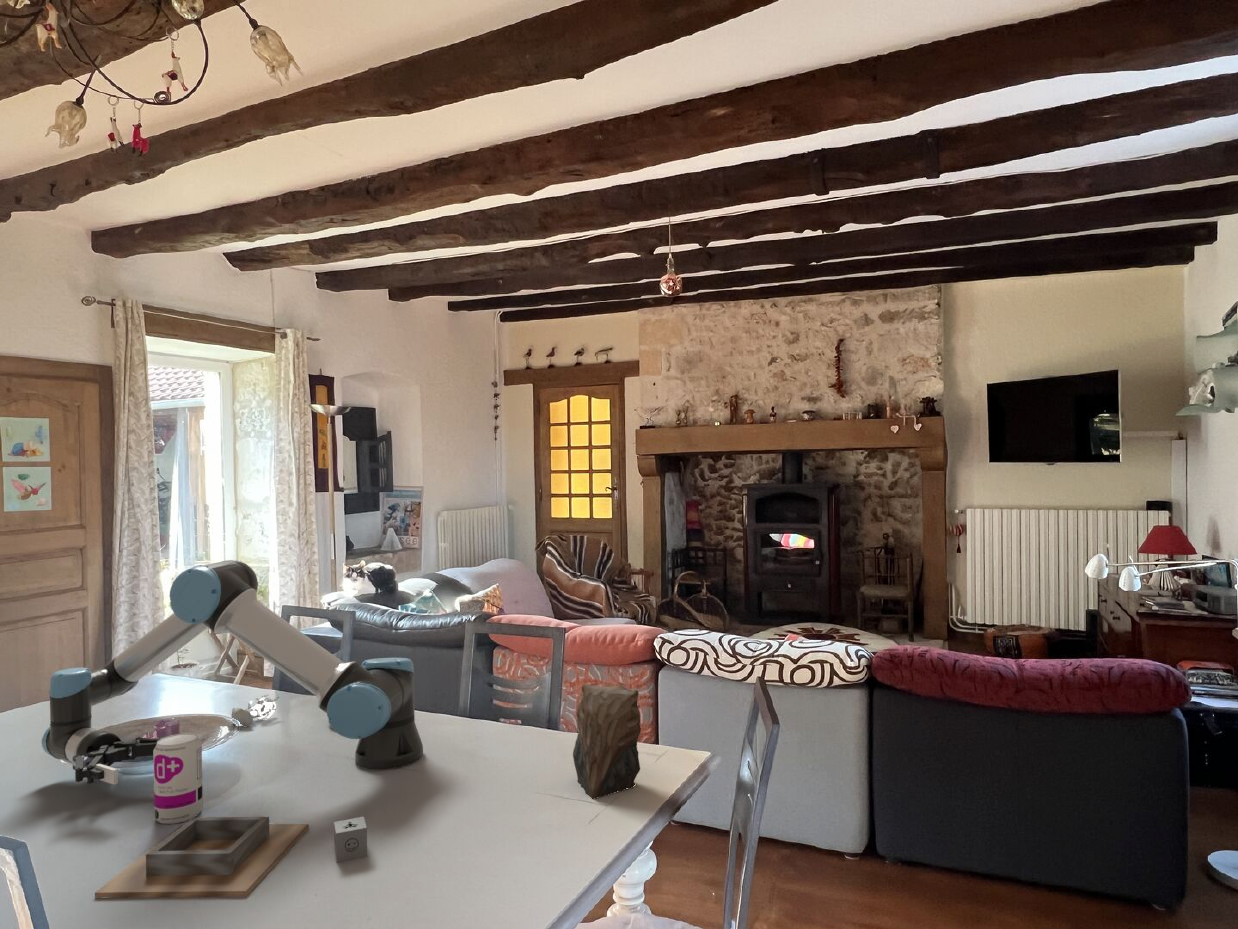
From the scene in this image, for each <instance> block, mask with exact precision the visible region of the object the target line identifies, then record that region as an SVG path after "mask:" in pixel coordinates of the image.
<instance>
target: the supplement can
mask: <svg viewBox="0 0 1238 929" xmlns="http://www.w3.org/2000/svg"><path fill="white" fill-rule="evenodd" d="M202 744H203V743H202V741H201V739H200V738H199V735H198V734H197V733H194V732H187V733H186V732H183V733H177V734H171V735H166V736H165V737H162V739H160V740H158V741H157V745H156V747H155V748H154V750H153V756H152V758H153V761H152V762H153V807H154V808H153V811H154V812H153V815H154V816H153V817H154V820H155V821H158V823H159V824H163V825H164V824H165V825H172V824H179V823H184V822H186V821H187V822H188V821H189V820H191V819H192V818H197V816H198V815H199V814H200V813H201V812H202V810H203V808H204V807H203V806H204V805H203V803H204V802H203V751H202V750H203V745H202Z"/></svg>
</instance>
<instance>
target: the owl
mask: <svg viewBox="0 0 1238 929" xmlns="http://www.w3.org/2000/svg"><path fill="white" fill-rule="evenodd" d="M581 691H582V696H581V698H580V701H579V702H580V703H579V704H578V705H577V710H576V723H577V728H578V733H577V736H576V740H575V743H574V748H573V752H572V757H573V763H574V767H575V772H576V775H577V777H576V778H577V780H576V782H577V783H578V784H579V785H580V787H581V788H582V789H583V790H584V792H585V795H587V796H588V795H589V796H590V797H591V798H592V799H591V798H590V797H589V796H588V797H589V798H590V799H591V800H595V799H594V798H596V799H598V798H597V797H599V798H602V797H606V796H609V795H608V794H610V795H612V794H615V793H614V792H616V793H618V792H617V791H620V792H622V791H625V790H627V789H626V788H631V787H633V786H634V785H635V783H636V782H635V781H636V778H637V776H638V774H639V773H640V771H641V765H640V759H639V751H638V740H639V738H640V735H641V733H642V732H641V729H642V728H641V713H640V710H639V706H638V699H639V698H638V697H639V691H638V690H636V689H635V690H631V689H630V688H627V687H626V686H624V685H613V686H609V685H606V686H601V685H600V686H598V685H595V684H586V683H585V684H582V685H581ZM633 788H634V787H633ZM624 789H625V790H624ZM631 789H632V788H631ZM611 793H612V794H611ZM605 795H606V796H605Z"/></svg>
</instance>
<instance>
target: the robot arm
mask: <svg viewBox="0 0 1238 929" xmlns="http://www.w3.org/2000/svg"><path fill="white" fill-rule="evenodd" d="M258 588H259V581H258V577H257V575H256V573H255V571H254V569H253V568H252V567H250V565H248V564H246V563H245V562H242V561H239V560H234V559H230V560H229V559H228V560H222V561H218V562H213V563H208V564H200V565H198V564H197V565H195V566H193V567H190V568H188V569H186V570H183V571H182V572H181V573H179V574H178V575H177V576H176V578H175V579H174V580H173V582H172V583H171V587H170V589H169V602H170V603H169V604H170V608H171V610H172V612H173V613H172V614H171V615H169V616H168V617H167V618H165V619H164V620H163V621H162V622H160V623H159V624H157V625H156V626H154V628H152V629H151V630H150V631H148V632H147V633H146V634H144V635H143V636H141V638H139V639H137V641H135V642H134V643H133V644H131V645H130V646H129V647H127V648H126V649H124V650H123V651H122V652H120V653H119V654H117V656H116V657H114V658H113V659H112V660H110V661H109V662H108V663H106V664H105V665H104V666H102V667H100V668H97V669H94V670H92V671H91V670H90V668H88V667H72V668H71V667H70V668H67V669H60V670H57V671H55V672H54V673H52V675H51V676H50V681H49V682H50V683H49V691H48V695H49V718H50V723H49V726H48V728H47V729H46V730H45V732H44V733H43V735H42V738H41V747H42V749H43V751H44V752H45V753H46V754H48V755H49V756H51V757H53V758H54V759H57V760H60V761H61V760H62V761H67V762H70V763H72V770H74V771H75V772H74V773H75V774H74V775H75V776H74V779H75V782H76V783H80V782H82V781H83V780H84V779H87V780H86V782H87V783H86V784H93V783H94V782H95V781H96V780H97V781H102V782H105V783H107V784H111V785H116V784H118V782H119V781H118V779H119V778H118V777H119V775H118V774H119V772H118V769H117V768H116V767H112V766H113V764H115V763H120V762H123V761H130V760H131V761H132V760H135V759H137V758H138V757H139V758H140V757H151V756H152V757H153V750H154V748H155V747H156V745H157V741H158V740H160V739H162V738H163V737H162V738H159V737H157V738H156V737H155V738H150V737H149V738H146V737H136V738H135V740H134V741H123V740H121V738H120V737H119V736H118V735H117V734H115V733H112V732H109V731H106V730H101V729H98V728H93V727H92V710H93V708H92V707H94V706H96V705H99V704H101V703H103V702H106V701H108V700H111V699H113V698H116V697H120V696H122V695H124V694H126V693H128V692H129V691H131V690H133V689H134V688H135V687H136V686H137V685H138V683H139V681H140V680H141V679H143V677H145V676H146V675H147V674H149V673H150V672H152V671H153V670H154V669H155V668H156V667H158V666H159V665H160V664H163V662H165V661H166V660H167V659H169V658H170V657H172V656H173V655H174V654H175V653H177V652H178V651H179V650H181V649H182V648H184V646H186V645H187V644H189V643H190V642H191V641H192V640H194V639H195V638H197V637H198V636H199V635H201V634H202V633H204V631H206V630H207V629H209V630H211V631H212V632H214V633H215V634H217V635H221V634H222V635H223V634H230V635H231V636H233V638H236V639H237V640H238V641H240V642H241V643H242V644H243V645H245V646H246V647H248V648H249V649H250V650H252V651H253V652H254V653H256V654H258V655H259V656H260V657H261V658H263V659H264V660H265V661H267V662H269V663H270V664H271V665H272V666H274V667H275V668H276V669H278V670H280V671H281V672H282V673H283V674H285V675H286V676H287V677H289V678H290V679H292V680H293V681H294V682H296V683H298V684H299V685H300V686H301V687H303V688H304V689H306V690H307V691H309V692H310V693H311V694H313V695H314V696H315V697H317V706H318V708H319V709H320V710H321V711H323V712H324V713H325V714H326V716H327V718H328V723H329V725H330V727H331V729H333V731H334V732H335V733H337V734H338V735H340V736H341V737H344V738H347V739H351V740H358V742H357V745H356V749H355V752H354V764H355V765H356V766H357V767H359V768H361V769H365V770H371V771H372V770H373V771H385V770H394V769H399V768H403V767H407V766H410V765H413V764H415V763H417V762H418V761H420V760H422V758H423V756H424V746H423V742H422V738H421V736H420V734H419V730H418V728H417V725H416V721H415V716H416V715H415V674H416V673H415V669H414V661H412V660H411V659H410V658H406V657H381V658H380V657H378V658H371V659H370V658H369V659H366V660H364V661H362V662H361V664H359V663H358V662H357V661H355V660H353V661H349V662H343V661H342V660H341V659H339V658H338V657H337V656H335V655H334V654H332V653H331V652H330V651H328V650H327V649H326V648H324V647H322V646H321V645H320V644H318V643H317V642H316V641H315V640H313V639H312V638H310V637H309V636H308V635H306V634H304V633H303V632H302V631H301V630H299V629H297V628H296V627H295V626H293V625H292V624H290V622H288V621H287V620H285V619H284V618H282V616H280V615H278V614H277V613H276V612H274V611H273V610H271V609H270V608H268V607H267V606H265V605H264V604H263V603H261V602H260V601H258V594H257V592H258V590H259V589H258ZM130 753H131V755H130Z"/></svg>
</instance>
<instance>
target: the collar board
mask: <svg viewBox="0 0 1238 929" xmlns="http://www.w3.org/2000/svg"><path fill="white" fill-rule="evenodd" d="M309 828H310V823H270V816H228V817H227V816H225V817H224V816H223V817H222V816H219V817H218V816H217V817H215V816H214V817H213V816H212V817H209V816H208V817H194V818H192V819H190V820H187V822H185V823H184V824H181V825H180V826H178V827H177V828H175V830H173V831H172V832H171V833H170V834H168V835H167V836H166V837H164V838H163V839H162V840H160V841H159V842H158V843H157V844H155V845H154V846H152V848H150V849H149V850H148V851H146V852H145V853H144V854H142V855H141V856H139V857H138V858H137V859H136V860H135V861H134V862H132V863H131V864H130V865H128V866H127V867H125V869H123V870H122V871H121V872H119V873H118V874H117V875H115V876H114V877H113V878H112V879H110V880H109V881H108V882H106V883H105V884H104V885H103V886H101V887H100V888H99V889H98V890H96V891H95V892H94V898H95V897H108V898H107V899H110V898H109V897H113V898H112V899H143V898H144V899H148V898H150V899H151V898H152V899H153V898H154V899H155V898H156V899H157V898H226V897H227V898H230V897H231V898H233V897H234V898H235V897H237V898H242V897H243V898H245V897H246V898H247V896H248V895H249V894H250V893H251V892H252V891H253V890H254V889H255V887H257V886H258V884H259V883H260V882H261V881H262V880H263V879H264V878H265V877H266V876H267V874H268V873H269V872H270V871H272V869H273V868H274V867H275V866H276V865H277V864H278V863H279V861H280V860H281V859H282V858H283V857H285V855H286V854H287V853H288V852H289V851H290V850H291V849H292V847H293V846H294V845H295V844H296V843H297V842H298V841H299V840H300V839H301V838H302V836H303V835H304V834H305V833H306V832H307V831H308V830H309ZM114 897H116V898H114ZM117 897H118V898H117ZM119 897H120V898H119ZM124 897H125V898H124ZM129 897H130V898H129Z"/></svg>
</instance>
